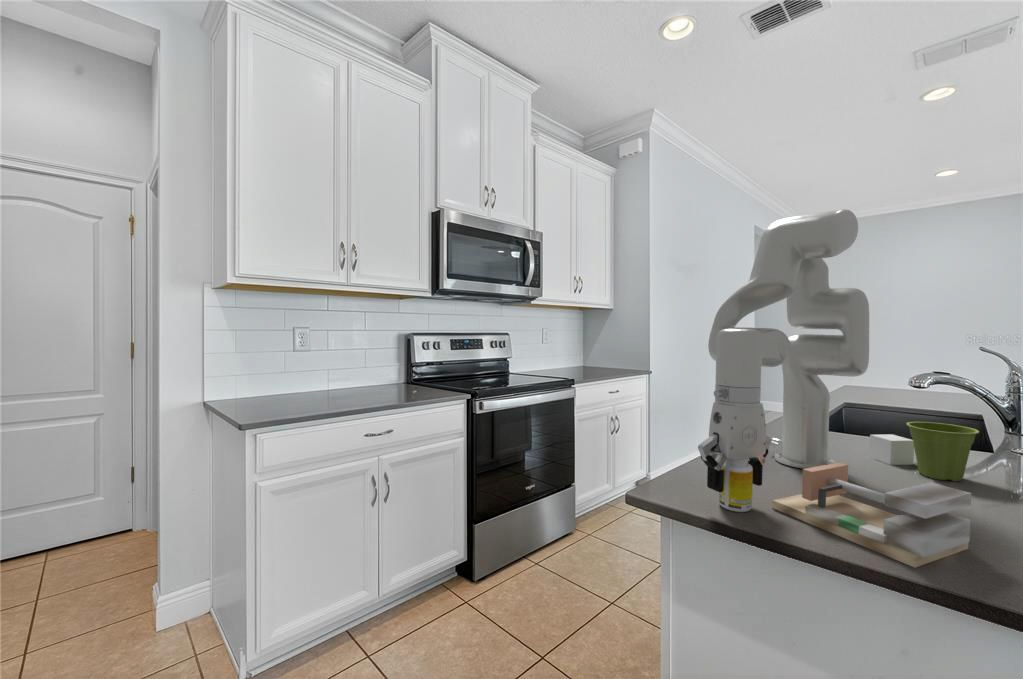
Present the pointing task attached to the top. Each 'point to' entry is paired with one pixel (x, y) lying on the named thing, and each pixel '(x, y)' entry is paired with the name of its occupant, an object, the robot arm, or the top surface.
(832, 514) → the frame
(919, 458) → the plant pot
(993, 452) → the top surface
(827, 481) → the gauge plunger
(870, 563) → the top surface
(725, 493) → the supplement bottle
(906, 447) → the white cube
